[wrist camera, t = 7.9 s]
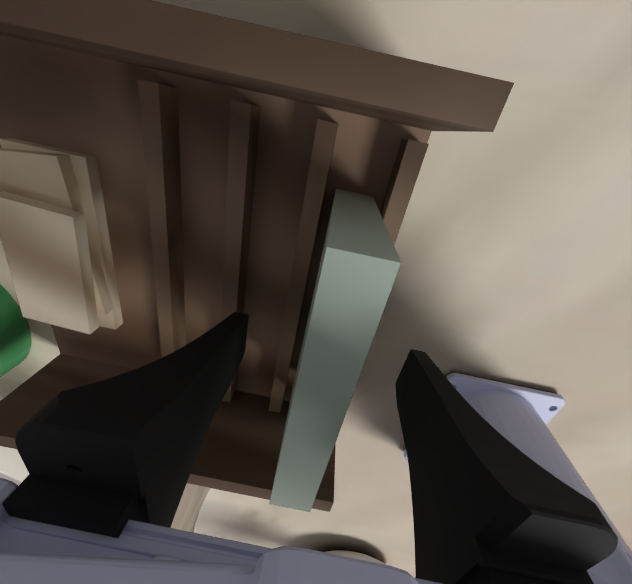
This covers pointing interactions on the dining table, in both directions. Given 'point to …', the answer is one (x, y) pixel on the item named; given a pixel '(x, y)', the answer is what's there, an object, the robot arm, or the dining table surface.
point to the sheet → (334, 342)
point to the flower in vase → (355, 555)
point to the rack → (217, 187)
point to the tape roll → (12, 333)
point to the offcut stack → (57, 236)
